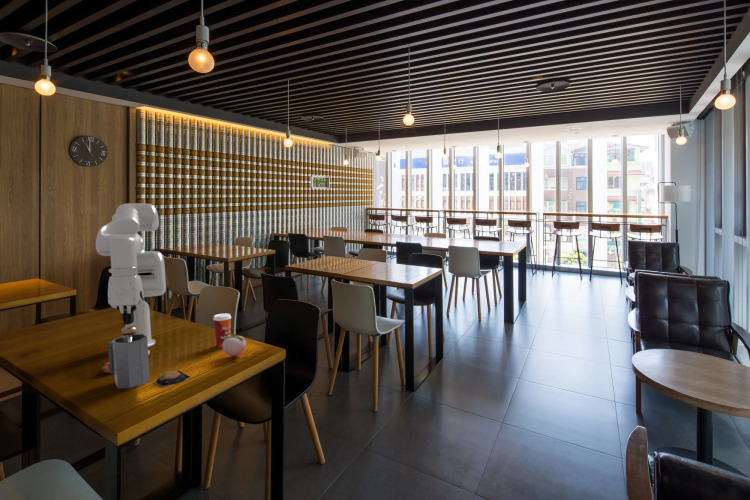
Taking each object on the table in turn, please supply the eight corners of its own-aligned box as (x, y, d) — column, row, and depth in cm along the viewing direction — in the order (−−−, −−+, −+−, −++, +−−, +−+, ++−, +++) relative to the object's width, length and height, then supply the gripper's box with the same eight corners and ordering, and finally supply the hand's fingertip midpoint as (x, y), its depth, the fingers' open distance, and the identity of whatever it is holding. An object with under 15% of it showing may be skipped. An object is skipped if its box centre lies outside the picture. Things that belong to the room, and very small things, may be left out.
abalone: (163, 390, 133) (163, 380, 132) (151, 384, 138) (150, 374, 137) (193, 379, 142) (192, 369, 141) (180, 373, 146) (180, 364, 146)
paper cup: (226, 349, 170) (224, 318, 169) (210, 347, 172) (209, 317, 170) (236, 343, 178) (234, 313, 176) (221, 342, 179) (219, 312, 178)
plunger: (114, 382, 134) (110, 331, 132) (128, 373, 142) (125, 324, 140) (136, 382, 134) (133, 331, 132) (149, 373, 142) (146, 324, 140)
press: (102, 388, 133) (99, 343, 131) (121, 376, 143) (118, 334, 141) (138, 388, 133) (135, 343, 131) (154, 376, 143) (151, 334, 141)
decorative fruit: (219, 361, 156) (218, 337, 155) (225, 354, 165) (224, 331, 164) (243, 360, 157) (242, 336, 156) (248, 353, 165) (247, 330, 164)
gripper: (95, 274, 130) (99, 326, 132) (140, 274, 130) (143, 327, 132) (110, 270, 138) (114, 320, 140) (152, 270, 138) (155, 320, 140)
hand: (128, 323), depth 136 cm, fingers closed
